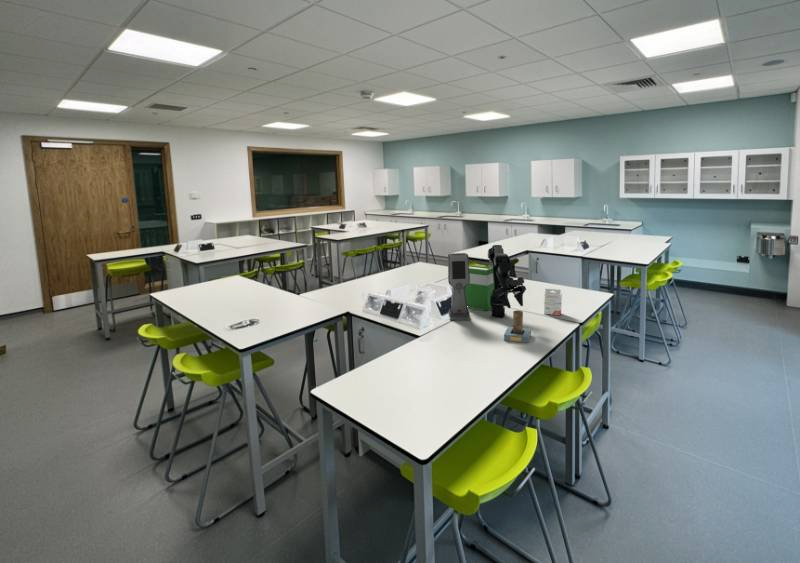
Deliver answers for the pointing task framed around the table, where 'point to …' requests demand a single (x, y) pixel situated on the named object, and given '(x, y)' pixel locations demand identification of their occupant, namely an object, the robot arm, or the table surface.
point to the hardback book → (480, 287)
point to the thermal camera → (458, 285)
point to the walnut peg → (517, 322)
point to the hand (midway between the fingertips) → (516, 307)
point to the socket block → (517, 335)
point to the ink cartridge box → (553, 302)
